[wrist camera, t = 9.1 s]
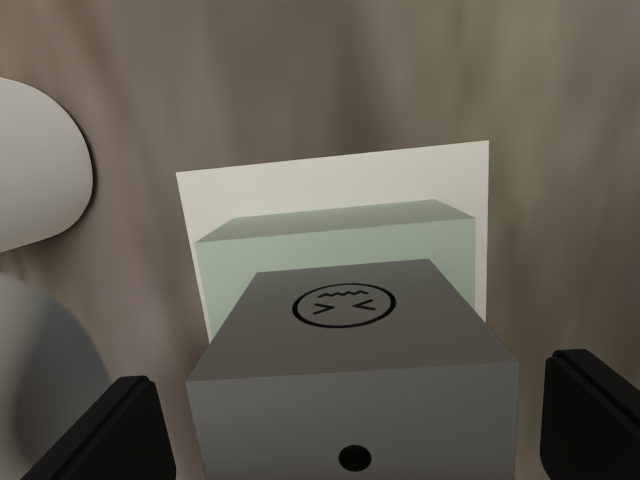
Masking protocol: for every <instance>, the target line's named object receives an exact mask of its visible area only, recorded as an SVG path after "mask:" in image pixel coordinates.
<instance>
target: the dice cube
mask: <svg viewBox="0 0 640 480" xmlns="http://www.w3.org/2000/svg"><path fill="white" fill-rule="evenodd" d="M518 383H519V360H518V359H517V358H516V357H515V356H514V355H513V354H512V353H511V351H510V350H509V349H508V348H507V347H506V346H505V345H504V343H503V342H502V341H501V340H500V339H499V338H498V337H497V335H496V334H495V333H494V332H493V331H492V330H491V329H490V327H489V326H488V325H487V324H486V323H485V322H484V321H483V320H482V318H481V317H480V316H479V315H478V314H477V313H476V312H475V310H474V309H473V308H472V307H471V306H470V305H469V304H468V302H467V301H466V300H465V299H464V298H463V297H462V296H461V294H460V293H459V292H458V291H457V290H456V289H455V288H454V287H453V285H452V284H451V283H450V282H449V281H448V280H447V279H446V277H445V276H444V275H443V274H442V273H441V272H440V271H439V269H438V268H437V267H436V266H435V265H434V264H433V263H432V262H431V260H430V259H429V258H428V259H416V260H404V261H391V262H379V263H367V264H354V265H342V266H330V267H318V268H305V269H293V270H281V271H269V272H257V273H256V274H255V276H254V277H253V279H252V280H251V282H250V283H249V285H248V286H247V288H246V289H245V291H244V293H243V294H242V296H241V297H240V299H239V300H238V302H237V303H236V305H235V306H234V308H233V309H232V311H231V312H230V314H229V315H228V317H227V318H226V320H225V321H224V323H223V324H222V326H221V327H220V329H219V330H218V332H217V334H216V335H215V337H214V338H213V340H212V341H211V343H210V344H209V346H208V347H207V349H206V350H205V352H204V353H203V355H202V356H201V358H200V359H199V361H198V362H197V364H196V365H195V367H194V368H193V370H192V371H191V373H190V375H189V376H188V378H187V379H186V381H185V385H186V390H187V394H188V399H189V403H190V408H191V412H192V416H193V421H194V425H195V430H196V434H197V439H198V443H199V448H200V452H201V456H202V461H203V465H204V470H205V474H206V479H207V480H514V472H515V449H516V427H517V405H518Z"/></svg>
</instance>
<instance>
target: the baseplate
mask: <svg viewBox="0 0 640 480" xmlns="http://www.w3.org/2000/svg"><path fill="white" fill-rule="evenodd" d="M488 167H489V140H488V141H476V142H467V143H457V144H447V145H437V146H428V147H418V148H408V149H398V150H389V151H379V152H369V153H359V154H350V155H340V156H330V157H320V158H311V159H301V160H291V161H281V162H272V163H262V164H252V165H243V166H233V167H223V168H213V169H204V170H194V171H184V172H176V176H177V181H178V186H179V191H180V196H181V202H182V207H183V212H184V217H185V222H186V227H187V232H188V237H189V242H190V247H191V252H192V257H193V262H194V267H195V272H196V277H197V282H198V287H199V292H200V297H201V303H202V308H203V313H204V318H205V323H206V328H207V333H208V338H209V343H211V341H212V340H213V338H212V332H211V327H210V322H209V317H208V312H207V307H206V302H205V297H204V292H203V287H202V281H201V276H200V271H199V266H198V261H197V256H196V251H195V246H194V243H195V242H196V241H198V240H199V239H201V238H203V237H204V236H206V235H207V234H209V233H210V232H212V231H214V230H215V229H217V228H218V227H220V226H221V225H223V224H225V223H226V222H228V221H229V220H231V219H232V218H237V217H247V216H258V215H269V214H280V213H290V212H301V211H312V210H322V209H333V208H344V207H354V206H365V205H376V204H387V203H397V202H408V201H419V200H429V199H436V200H438V201H440V202H443V203H445V204H447V205H449V206H451V207H453V208H455V209H458V210H460V211H462V212H464V213H466V214H468V215H471V216H473V217H475V218H476V238H475V312H476V313H477V314H478V315H479V316H480V317H481V318H482V320H483V321H484V322H485V323H486V280H487V224H488Z"/></svg>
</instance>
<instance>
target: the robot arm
mask: <svg viewBox="0 0 640 480" xmlns="http://www.w3.org/2000/svg"><path fill="white" fill-rule="evenodd" d="M540 458H541V462H542V465H543V467H544V469H545V471H546V473H547V474H548V476H549V478H550V479H551V480H640V391H639V390H638V389H637V388H635V387H634V386H633V385H631V384H630V383H629V382H628V381H626V380H625V379H624V378H623V377H621V376H620V375H619V374H617V373H616V372H615V371H614V370H612V369H611V368H610V367H609V366H607V365H606V364H605V363H603V362H602V361H601V360H600V359H598V358H597V357H596V356H595V355H593V354H592V353H591V352H589V351H588V350H586V349H570V350H557V351H555V352H554V353H553V356H552V357H550V358H548V359H547V360H546V367H545V382H544V397H543V412H542V427H541V442H540ZM175 479H176V465H175V461H174V457H173V453H172V449H171V445H170V441H169V437H168V433H167V429H166V425H165V421H164V417H163V413H162V409H161V405H160V401H159V397H158V393H157V389H156V385H155V383H154V382H152V381H149V378H148V377H147V376H144V375H142V376H126V377H120V378H119V379H117V380H116V381H115V382H114V383H113V384H112V385H111V386H110V387H109V388H108V389H107V390H106V392H104V394H103V395H102V396H101V397H100V398H99V399H98V400H97V401H96V402H95V403H94V404H93V405H92V406H91V407H90V408H89V409H88V410H87V411H86V412H85V413H84V414H83V415H82V416H81V417H80V418H79V419H78V420H77V422H76V423H75V424H74V425H73V426H72V427H71V428H70V429H69V430H68V431H67V432H66V433H65V434H64V435H63V436H62V437H61V438H60V439H59V440H58V441H57V442H56V443H55V444H54V445H53V446H52V447H51V448H50V449H49V450H48V452H47V453H46V454H45V455H44V456H43V457H42V458H41V459H40V460H39V461H38V462H37V463H36V464H35V465H34V466H33V467H32V468H31V469H30V470H29V471H28V472H27V473H26V474H25V475H24V476H23V477H22V479H20V480H175Z"/></svg>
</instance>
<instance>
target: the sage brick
mask: <svg viewBox="0 0 640 480" xmlns="http://www.w3.org/2000/svg"><path fill="white" fill-rule="evenodd" d="M475 238H476V218H475V217H473V216H471V215H468V214H466V213H464V212H462V211H460V210H458V209H455V208H453V207H451V206H449V205H447V204H445V203H443V202H440V201H438V200H436V199H429V200H419V201H408V202H397V203H387V204H376V205H365V206H354V207H344V208H333V209H322V210H312V211H301V212H290V213H280V214H269V215H258V216H247V217H237V218H232V219H231V220H229V221H228V222H226V223H225V224H223V225H221V226H220V227H218V228H217V229H215V230H214V231H212V232H210V233H209V234H207V235H206V236H204V237H203V238H201V239H199V240H198V241H196V242H195V243H194V246H195V251H196V256H197V261H198V266H199V271H200V276H201V281H202V287H203V292H204V297H205V302H206V307H207V312H208V317H209V322H210V327H211V332H212V338H214V337H215V335H216V334H217V332H218V330H219V329H220V327H221V326H222V324H223V323H224V321H225V320H226V318H227V317H228V315H229V314H230V312H231V311H232V309H233V308H234V306H235V305H236V303H237V302H238V300H239V299H240V297H241V296H242V294H243V293H244V291H245V289H246V288H247V286H248V285H249V283H250V282H251V280H252V279H253V277H254V276H255V274H256V273H257V272H269V271H281V270H293V269H305V268H318V267H330V266H342V265H354V264H367V263H379V262H391V261H404V260H416V259H428V258H429V259H430V260H431V262H432V263H433V264H434V265H435V266H436V267H437V268H438V269H439V271H440V272H441V273H442V274H443V275H444V276H445V277H446V279H447V280H448V281H449V282H450V283H451V284H452V285H453V287H454V288H455V289H456V290H457V291H458V292H459V293H460V294H461V296H462V297H463V298H464V299H465V300H466V301H467V302H468V304H469V305H470V306H471V307H472V308H473V309H474V310H475Z"/></svg>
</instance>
